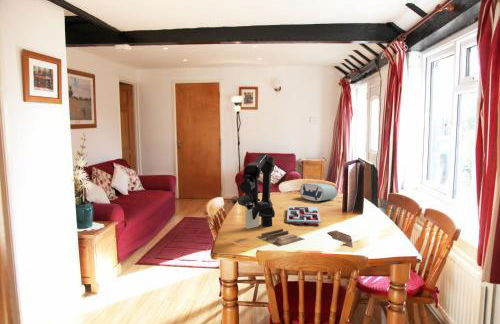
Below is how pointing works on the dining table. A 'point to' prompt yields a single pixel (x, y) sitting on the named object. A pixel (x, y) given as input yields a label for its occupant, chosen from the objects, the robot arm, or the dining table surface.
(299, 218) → the maze game
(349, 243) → the wooden fragment
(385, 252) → the dining table surface
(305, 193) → the grey rounded oval block
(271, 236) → the walnut rack
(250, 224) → the taupe rectangular block
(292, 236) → the upper oak offcut
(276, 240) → the lower oak offcut
